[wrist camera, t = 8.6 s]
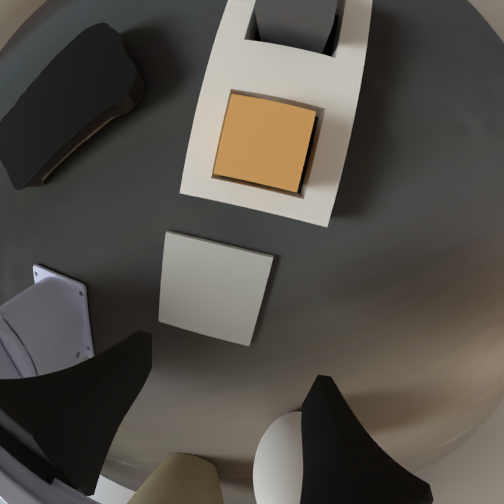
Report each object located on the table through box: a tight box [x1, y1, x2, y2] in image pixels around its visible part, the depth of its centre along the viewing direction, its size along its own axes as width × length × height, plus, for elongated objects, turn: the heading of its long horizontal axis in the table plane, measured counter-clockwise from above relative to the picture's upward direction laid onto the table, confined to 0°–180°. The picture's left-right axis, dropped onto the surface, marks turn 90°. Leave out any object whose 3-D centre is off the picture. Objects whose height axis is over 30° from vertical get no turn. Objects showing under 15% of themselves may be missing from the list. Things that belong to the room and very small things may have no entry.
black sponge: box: [0, 23, 144, 190], centre depth 16 cm, size 16×8×4 cm, turn 114°
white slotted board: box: [180, 0, 372, 227], centre depth 14 cm, size 23×9×3 cm, turn 168°
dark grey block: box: [254, 0, 337, 54], centre depth 12 cm, size 4×4×6 cm
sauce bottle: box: [253, 412, 303, 504], centre depth 17 cm, size 8×8×18 cm
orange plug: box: [214, 94, 316, 193], centre depth 15 cm, size 4×4×6 cm
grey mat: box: [159, 230, 273, 346], centre depth 21 cm, size 8×8×1 cm
